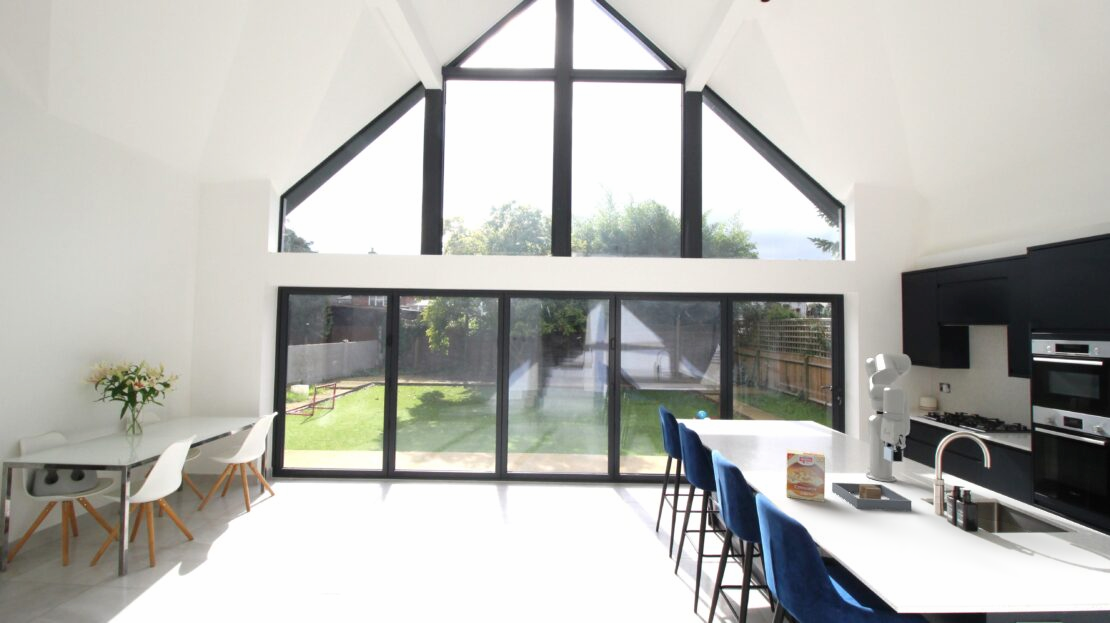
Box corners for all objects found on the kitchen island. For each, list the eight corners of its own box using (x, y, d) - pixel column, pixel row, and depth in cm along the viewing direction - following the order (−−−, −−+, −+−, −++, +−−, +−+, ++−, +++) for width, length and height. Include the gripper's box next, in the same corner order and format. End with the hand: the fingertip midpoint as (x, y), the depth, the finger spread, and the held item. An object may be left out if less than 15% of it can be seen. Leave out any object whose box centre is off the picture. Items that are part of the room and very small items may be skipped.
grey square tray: (832, 491, 234) (832, 482, 234) (881, 493, 233) (881, 484, 233) (857, 508, 213) (857, 498, 213) (911, 510, 211) (911, 501, 211)
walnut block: (859, 498, 226) (859, 484, 226) (873, 498, 226) (873, 484, 226) (866, 502, 220) (866, 488, 220) (881, 503, 220) (881, 489, 220)
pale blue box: (883, 458, 222) (883, 446, 222) (895, 458, 221) (895, 447, 221) (891, 461, 217) (891, 449, 217) (903, 461, 216) (903, 449, 216)
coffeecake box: (786, 497, 225) (786, 452, 225) (785, 492, 231) (786, 449, 232) (824, 502, 219) (825, 456, 220) (823, 497, 226) (823, 452, 226)
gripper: (872, 412, 228) (872, 453, 228) (897, 420, 211) (897, 464, 211) (890, 413, 228) (889, 454, 227) (916, 420, 211) (915, 465, 210)
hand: (893, 458), depth 219 cm, fingers closed on pale blue box, 4 cm apart
